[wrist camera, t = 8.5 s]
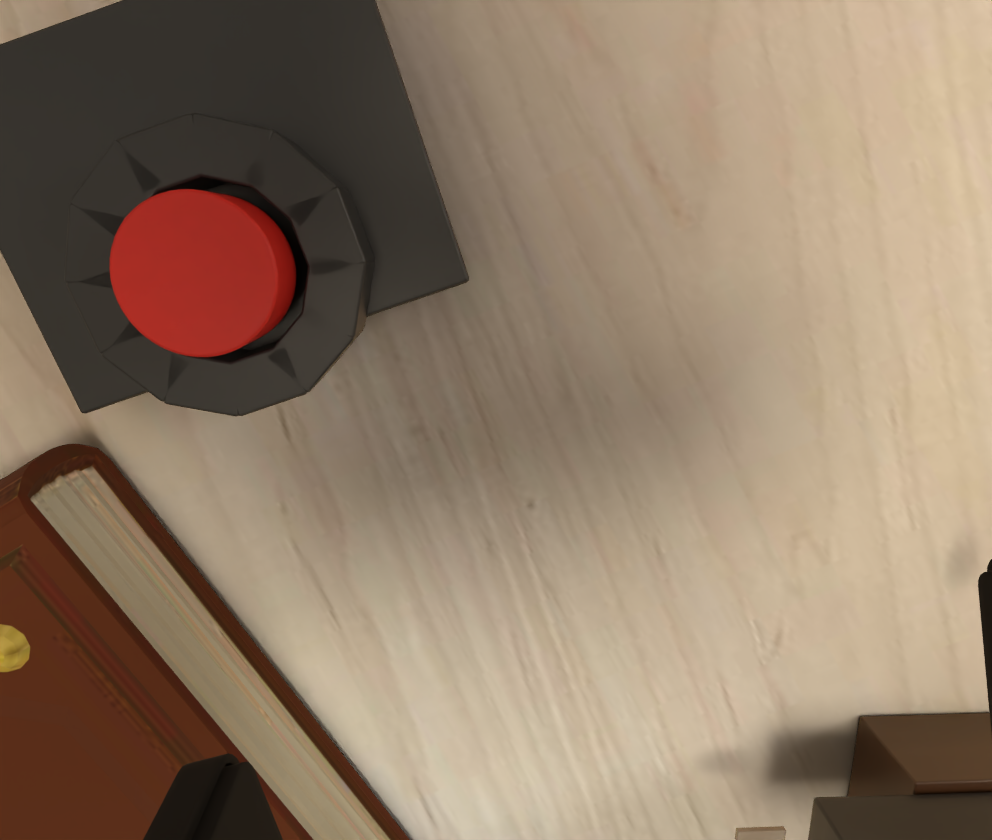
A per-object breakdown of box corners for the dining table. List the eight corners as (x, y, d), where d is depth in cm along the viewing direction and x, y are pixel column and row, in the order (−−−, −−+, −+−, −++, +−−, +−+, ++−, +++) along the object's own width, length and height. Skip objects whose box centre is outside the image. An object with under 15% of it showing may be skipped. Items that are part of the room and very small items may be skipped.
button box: (-25, 94, 18) (-159, 55, 14) (360, -45, 17) (332, -124, 14) (138, 431, 20) (62, 477, 16) (481, 313, 20) (487, 332, 16)
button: (119, 223, 15) (77, 221, 14) (262, 172, 15) (237, 165, 14) (184, 364, 16) (152, 379, 14) (319, 317, 16) (303, 327, 14)
